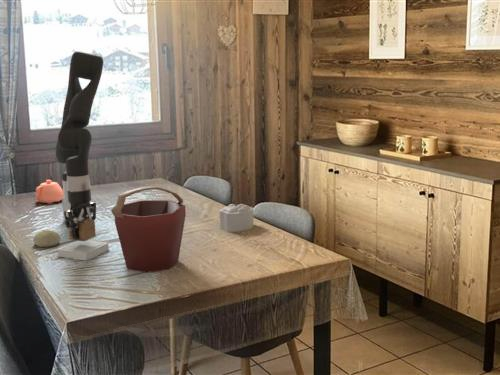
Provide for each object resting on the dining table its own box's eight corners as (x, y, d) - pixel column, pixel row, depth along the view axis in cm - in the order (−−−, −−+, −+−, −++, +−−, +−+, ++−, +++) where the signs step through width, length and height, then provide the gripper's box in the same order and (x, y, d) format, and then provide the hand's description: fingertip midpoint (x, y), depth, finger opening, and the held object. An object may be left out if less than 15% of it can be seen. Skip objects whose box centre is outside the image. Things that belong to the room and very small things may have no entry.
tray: (57, 256, 205) (57, 248, 205) (81, 245, 216) (80, 238, 216) (86, 260, 201) (85, 252, 200) (108, 249, 211) (108, 242, 211)
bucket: (119, 280, 183) (114, 199, 177) (105, 258, 203) (100, 184, 197) (197, 267, 192) (194, 190, 187) (176, 248, 212) (173, 177, 207)
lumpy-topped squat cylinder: (216, 227, 237) (216, 205, 236) (244, 221, 244) (244, 200, 242) (230, 233, 229) (230, 210, 227) (259, 227, 236) (259, 205, 234)
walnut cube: (70, 239, 206) (68, 222, 204) (81, 234, 211) (80, 217, 210) (84, 241, 203) (82, 224, 202) (95, 236, 209) (94, 219, 207)
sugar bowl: (69, 200, 285) (68, 179, 283) (45, 206, 273) (43, 184, 271) (52, 197, 291) (50, 176, 289) (27, 203, 280) (25, 182, 277)
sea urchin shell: (36, 245, 212) (32, 225, 215) (35, 256, 218) (31, 237, 221) (62, 241, 216) (58, 222, 219) (61, 252, 222) (57, 233, 225)
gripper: (83, 183, 211) (87, 229, 215) (55, 191, 199) (59, 241, 202) (101, 184, 208) (104, 231, 212) (73, 193, 196) (77, 243, 199)
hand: (82, 236), depth 207 cm, fingers closed on walnut cube, 6 cm apart
